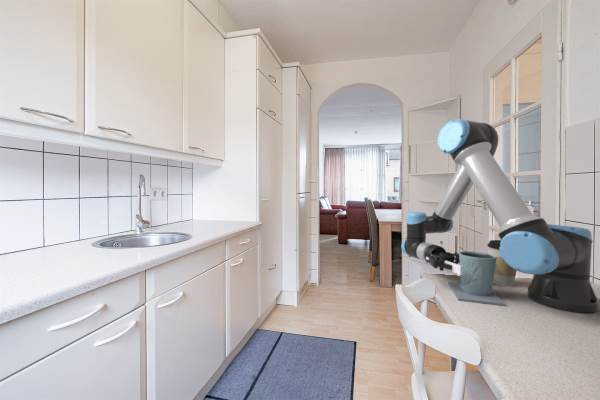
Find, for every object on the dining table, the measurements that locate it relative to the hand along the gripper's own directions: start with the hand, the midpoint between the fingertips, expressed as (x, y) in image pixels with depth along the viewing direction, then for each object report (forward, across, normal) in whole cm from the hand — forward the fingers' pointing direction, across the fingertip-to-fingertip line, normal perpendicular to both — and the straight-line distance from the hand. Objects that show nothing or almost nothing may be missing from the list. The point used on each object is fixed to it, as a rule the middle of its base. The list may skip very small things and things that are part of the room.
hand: (479, 269), depth 85 cm
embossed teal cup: (-2, -2, -8) cm, 9 cm away
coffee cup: (-8, -19, -9) cm, 22 cm away
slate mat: (-2, 0, -9) cm, 9 cm away
